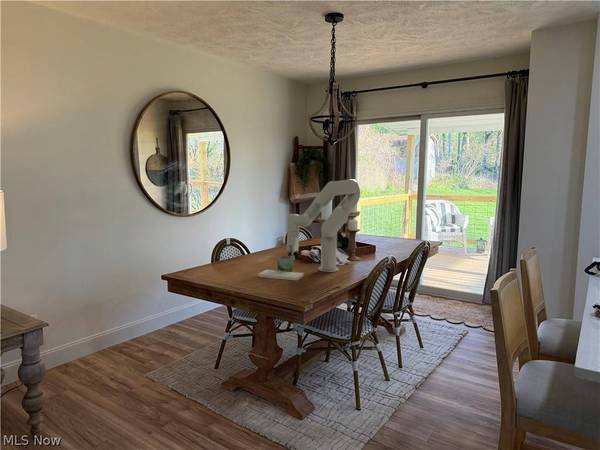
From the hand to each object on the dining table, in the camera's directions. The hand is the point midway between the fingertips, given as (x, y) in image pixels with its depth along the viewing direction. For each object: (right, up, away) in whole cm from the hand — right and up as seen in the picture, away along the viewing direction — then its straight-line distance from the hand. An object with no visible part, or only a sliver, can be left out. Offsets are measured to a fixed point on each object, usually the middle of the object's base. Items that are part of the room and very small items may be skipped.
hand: (292, 260), depth 258 cm
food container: (-4, -7, -10) cm, 12 cm away
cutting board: (-7, -8, -19) cm, 21 cm away
